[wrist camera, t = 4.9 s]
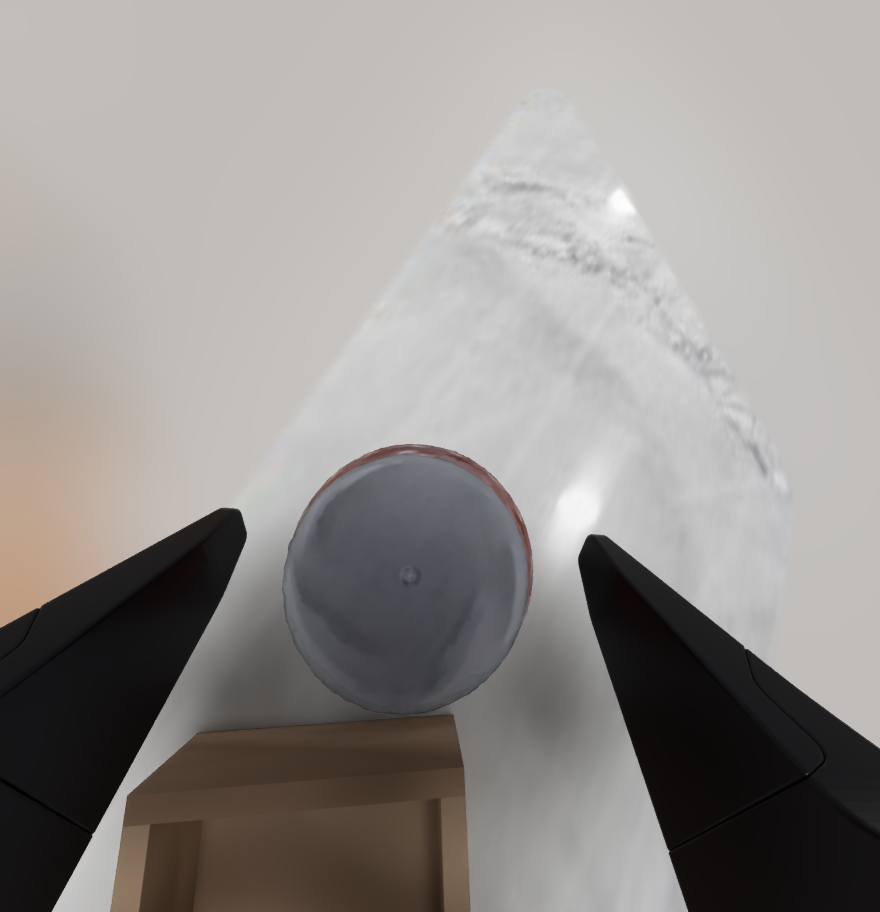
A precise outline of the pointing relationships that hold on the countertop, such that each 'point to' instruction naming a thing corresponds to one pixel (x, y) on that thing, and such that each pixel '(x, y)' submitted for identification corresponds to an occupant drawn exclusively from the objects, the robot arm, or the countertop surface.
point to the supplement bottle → (407, 579)
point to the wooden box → (301, 822)
